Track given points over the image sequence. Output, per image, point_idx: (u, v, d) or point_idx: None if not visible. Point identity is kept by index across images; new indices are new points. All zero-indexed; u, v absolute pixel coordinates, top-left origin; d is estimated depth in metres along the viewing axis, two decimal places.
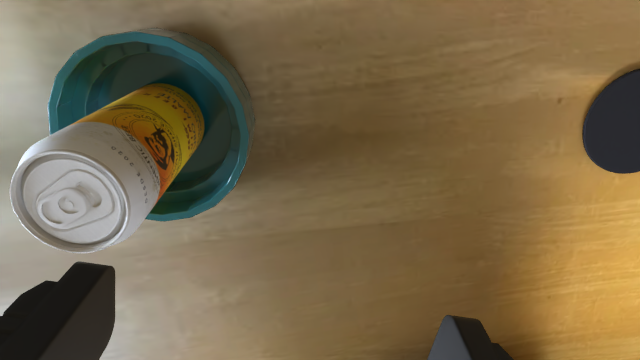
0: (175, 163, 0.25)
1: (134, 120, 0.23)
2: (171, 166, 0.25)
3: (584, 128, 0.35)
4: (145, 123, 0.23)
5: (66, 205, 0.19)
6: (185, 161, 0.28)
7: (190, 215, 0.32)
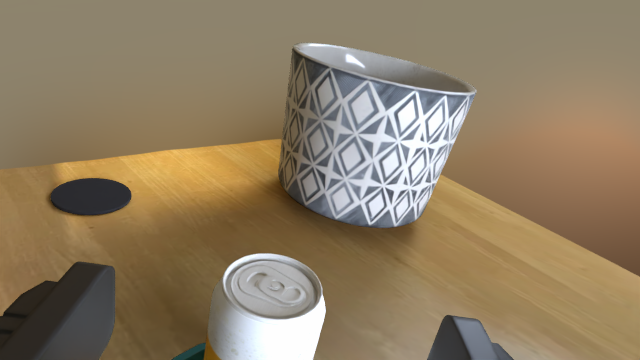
0: None
1: None
2: None
3: (106, 211, 0.51)
4: None
5: (276, 286, 0.22)
6: None
7: None
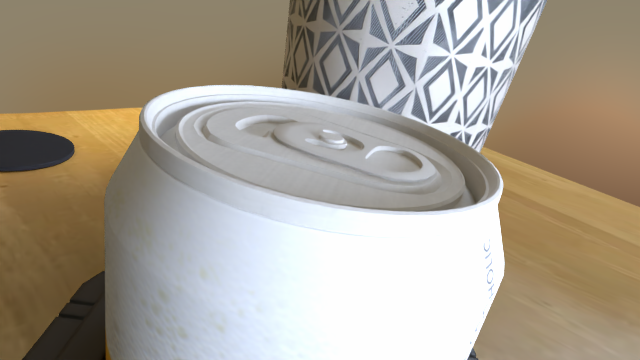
0: None
1: None
2: None
3: (32, 167, 0.35)
4: None
5: (337, 138, 0.06)
6: None
7: None
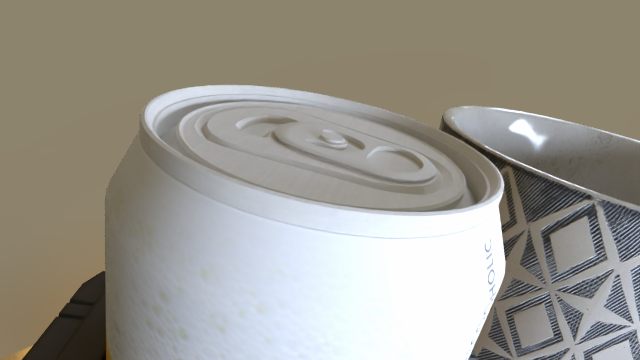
0: None
1: None
2: None
3: None
4: None
5: (339, 139, 0.06)
6: None
7: None
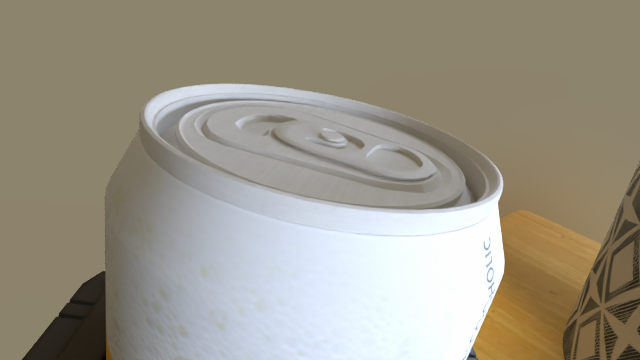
0: None
1: None
2: None
3: None
4: None
5: (337, 137, 0.06)
6: None
7: None
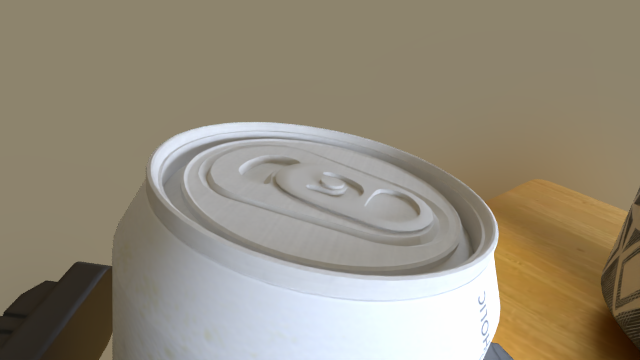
0: None
1: None
2: None
3: None
4: None
5: (337, 184, 0.07)
6: None
7: None
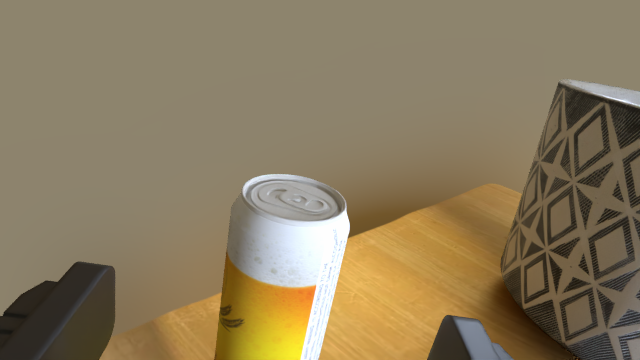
0: None
1: None
2: None
3: None
4: None
5: (298, 198, 0.21)
6: None
7: None
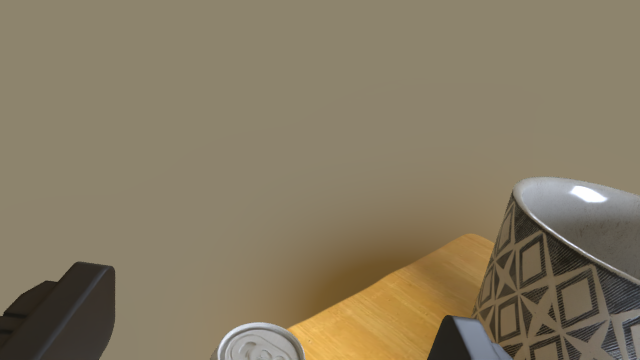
0: None
1: None
2: None
3: None
4: None
5: (264, 356, 0.25)
6: None
7: None
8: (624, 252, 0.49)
